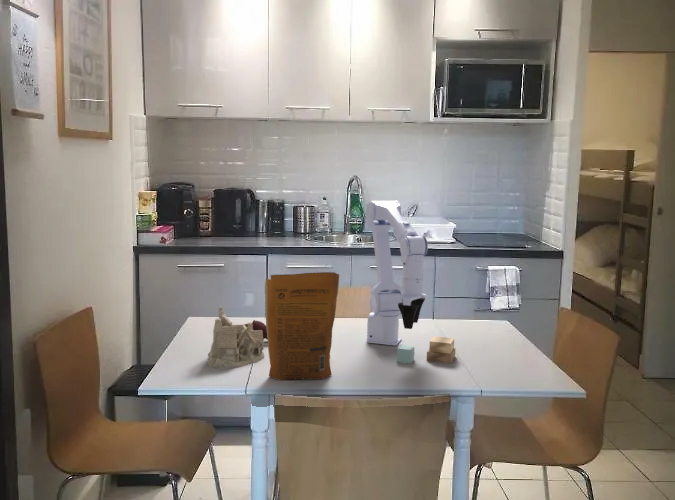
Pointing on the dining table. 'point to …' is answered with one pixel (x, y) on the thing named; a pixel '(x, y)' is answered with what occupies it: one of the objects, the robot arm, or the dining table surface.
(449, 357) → the tower base
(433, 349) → the tower top
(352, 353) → the dining table surface
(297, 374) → the pancake mix bag
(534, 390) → the dining table surface
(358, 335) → the dining table surface
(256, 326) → the icecream
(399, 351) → the teal cube
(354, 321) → the dining table surface
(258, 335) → the ceramic cottage
